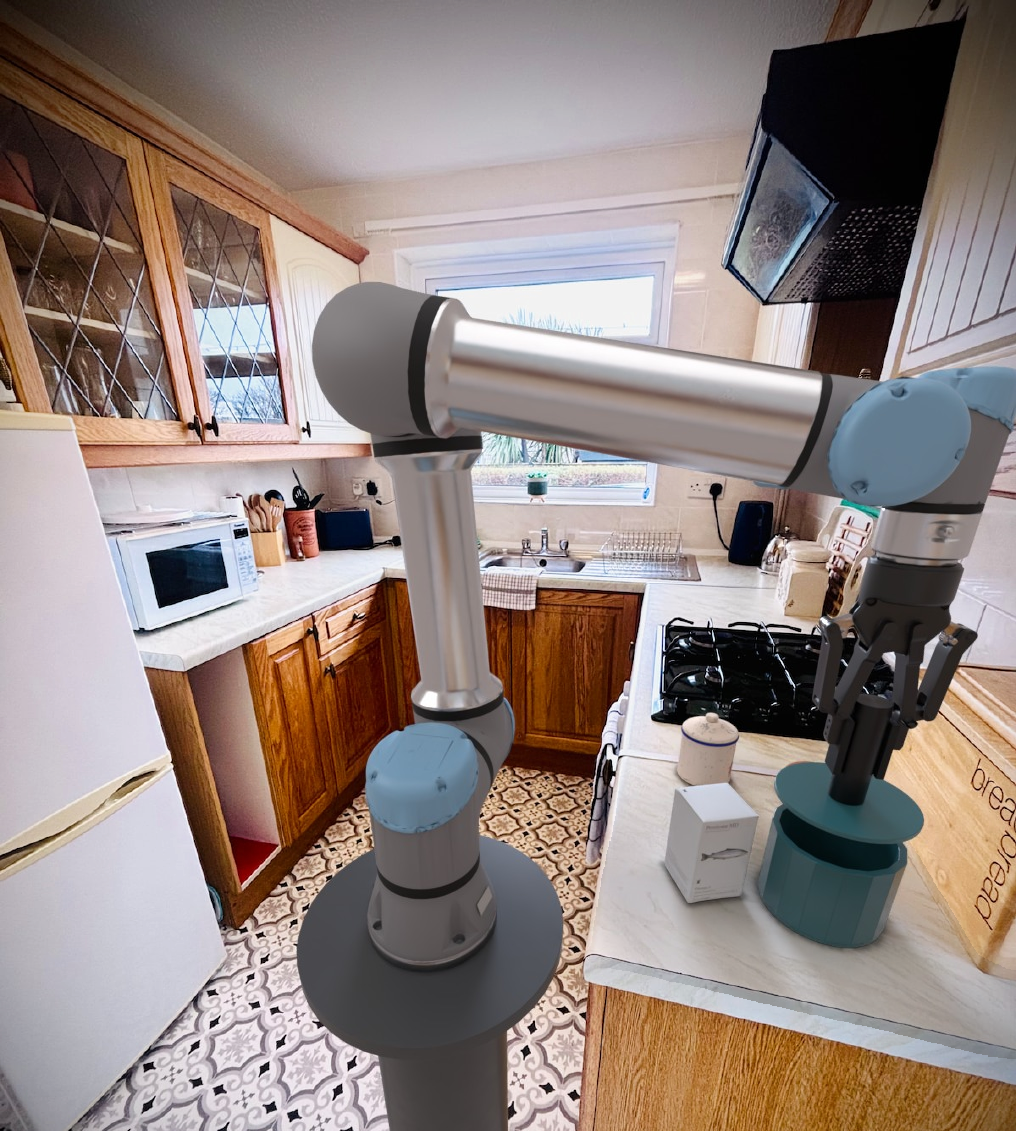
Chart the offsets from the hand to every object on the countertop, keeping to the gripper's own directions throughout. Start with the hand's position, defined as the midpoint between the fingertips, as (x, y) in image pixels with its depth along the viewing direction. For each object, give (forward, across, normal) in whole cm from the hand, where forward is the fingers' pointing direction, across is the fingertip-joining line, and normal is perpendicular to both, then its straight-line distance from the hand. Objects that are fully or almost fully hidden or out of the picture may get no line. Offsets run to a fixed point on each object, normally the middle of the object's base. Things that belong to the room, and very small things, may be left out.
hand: (853, 769), depth 60 cm
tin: (+19, 0, 0) cm, 19 cm away
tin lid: (+4, 0, 0) cm, 4 cm away
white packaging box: (+19, -13, +1) cm, 24 cm away
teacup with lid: (+19, -11, +28) cm, 36 cm away
